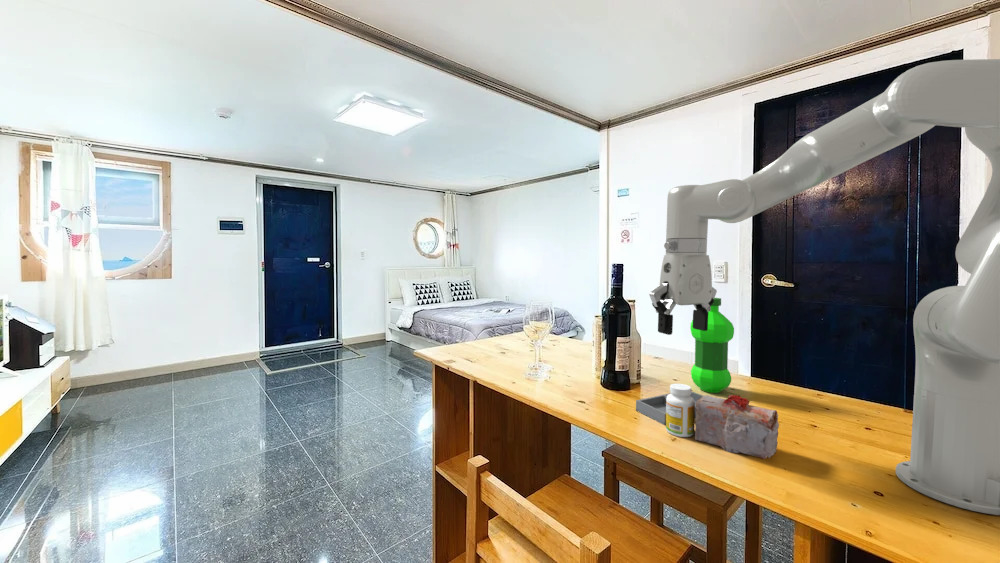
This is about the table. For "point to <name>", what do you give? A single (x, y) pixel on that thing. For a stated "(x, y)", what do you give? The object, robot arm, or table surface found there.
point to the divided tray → (658, 406)
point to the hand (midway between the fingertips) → (682, 331)
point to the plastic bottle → (712, 351)
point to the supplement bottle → (680, 411)
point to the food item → (737, 425)
